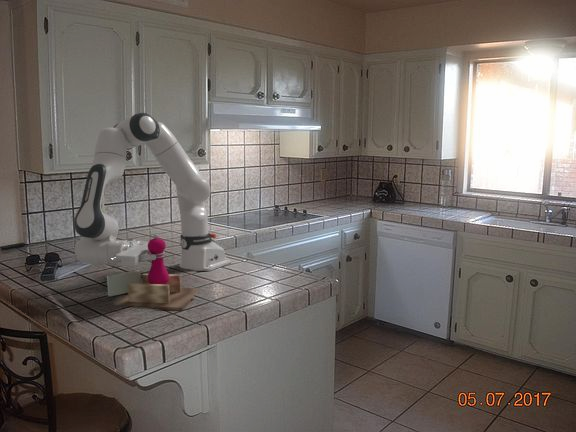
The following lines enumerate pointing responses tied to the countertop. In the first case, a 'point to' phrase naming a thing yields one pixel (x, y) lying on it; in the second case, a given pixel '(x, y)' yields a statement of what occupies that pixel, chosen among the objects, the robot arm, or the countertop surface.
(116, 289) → the gate
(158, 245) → the pepper mill
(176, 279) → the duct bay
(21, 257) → the countertop surface
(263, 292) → the countertop surface
